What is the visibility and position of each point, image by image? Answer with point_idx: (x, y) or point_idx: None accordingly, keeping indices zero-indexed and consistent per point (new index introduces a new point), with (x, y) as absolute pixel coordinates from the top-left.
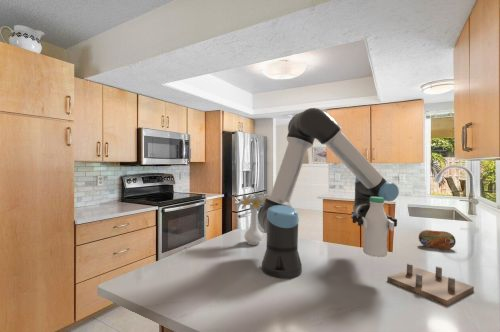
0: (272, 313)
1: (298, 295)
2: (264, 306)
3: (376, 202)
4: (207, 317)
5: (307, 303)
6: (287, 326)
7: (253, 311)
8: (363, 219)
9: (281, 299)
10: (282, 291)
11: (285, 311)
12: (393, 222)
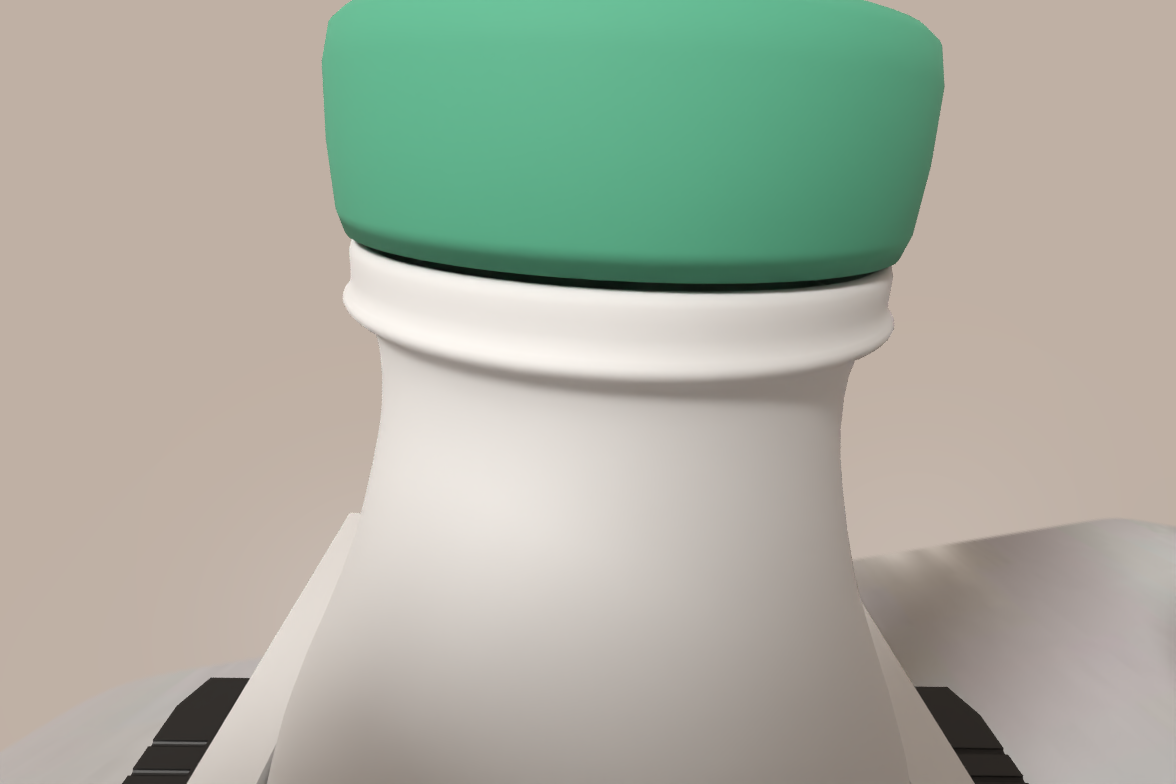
0: (1002, 594)
1: (1029, 735)
2: (1067, 622)
3: (586, 360)
4: (1142, 547)
5: (938, 677)
6: (908, 554)
7: (1067, 591)
8: (875, 640)
9: (1063, 681)
10: (1137, 755)
11: (973, 611)
12: (338, 532)
